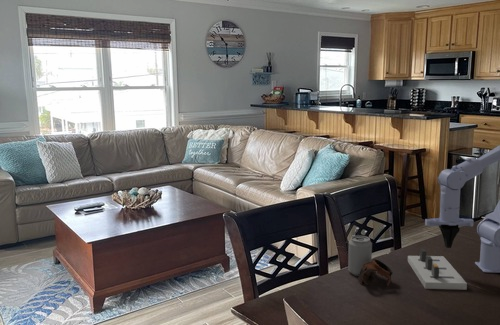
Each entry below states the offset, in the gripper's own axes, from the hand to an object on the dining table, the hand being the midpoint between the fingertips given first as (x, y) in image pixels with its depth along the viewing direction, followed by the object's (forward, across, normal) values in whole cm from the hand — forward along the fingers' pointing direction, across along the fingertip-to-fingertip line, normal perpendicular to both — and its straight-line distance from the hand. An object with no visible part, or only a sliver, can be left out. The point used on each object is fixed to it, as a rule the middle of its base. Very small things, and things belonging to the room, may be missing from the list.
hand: (448, 246), depth 145 cm
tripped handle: (+6, -7, -9) cm, 13 cm away
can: (+8, -29, -2) cm, 30 cm away
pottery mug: (+9, -26, -10) cm, 29 cm away
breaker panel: (+8, -5, -2) cm, 10 cm away
